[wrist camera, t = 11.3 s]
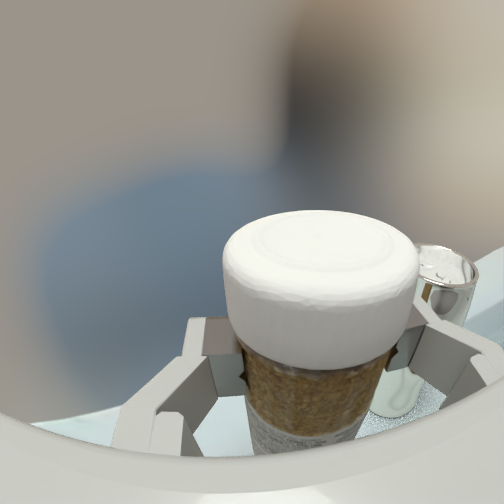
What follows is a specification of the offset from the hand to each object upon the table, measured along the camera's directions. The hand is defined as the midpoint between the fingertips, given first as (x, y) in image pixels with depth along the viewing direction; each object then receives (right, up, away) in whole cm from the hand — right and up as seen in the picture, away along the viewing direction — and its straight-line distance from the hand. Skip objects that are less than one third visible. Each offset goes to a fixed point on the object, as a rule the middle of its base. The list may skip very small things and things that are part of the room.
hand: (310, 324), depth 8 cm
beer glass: (+12, -12, +14) cm, 22 cm away
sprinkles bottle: (+1, -10, +4) cm, 10 cm away
